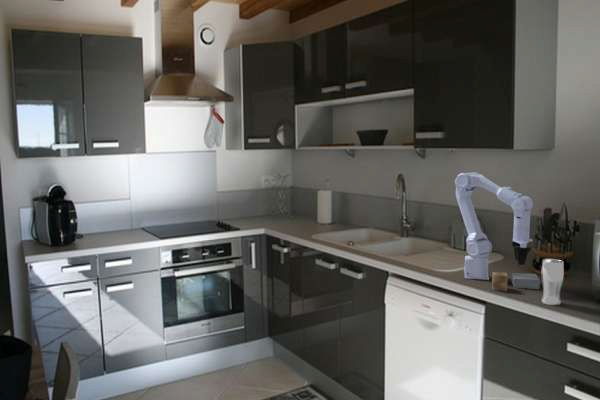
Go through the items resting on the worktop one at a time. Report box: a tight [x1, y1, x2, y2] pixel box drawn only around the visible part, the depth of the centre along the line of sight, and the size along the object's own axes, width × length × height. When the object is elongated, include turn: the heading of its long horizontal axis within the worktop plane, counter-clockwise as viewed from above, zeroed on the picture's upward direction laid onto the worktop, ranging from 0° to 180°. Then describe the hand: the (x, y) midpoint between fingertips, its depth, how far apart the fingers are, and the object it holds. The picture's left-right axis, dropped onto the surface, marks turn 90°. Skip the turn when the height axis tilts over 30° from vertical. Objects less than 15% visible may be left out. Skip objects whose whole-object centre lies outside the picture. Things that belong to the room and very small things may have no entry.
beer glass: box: [540, 258, 565, 306], centre depth 179 cm, size 7×7×15 cm
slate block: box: [511, 272, 541, 290], centre depth 202 cm, size 9×9×4 cm
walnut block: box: [491, 271, 508, 292], centre depth 197 cm, size 5×5×6 cm
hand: (519, 262), depth 199 cm, fingers open, 7 cm apart
